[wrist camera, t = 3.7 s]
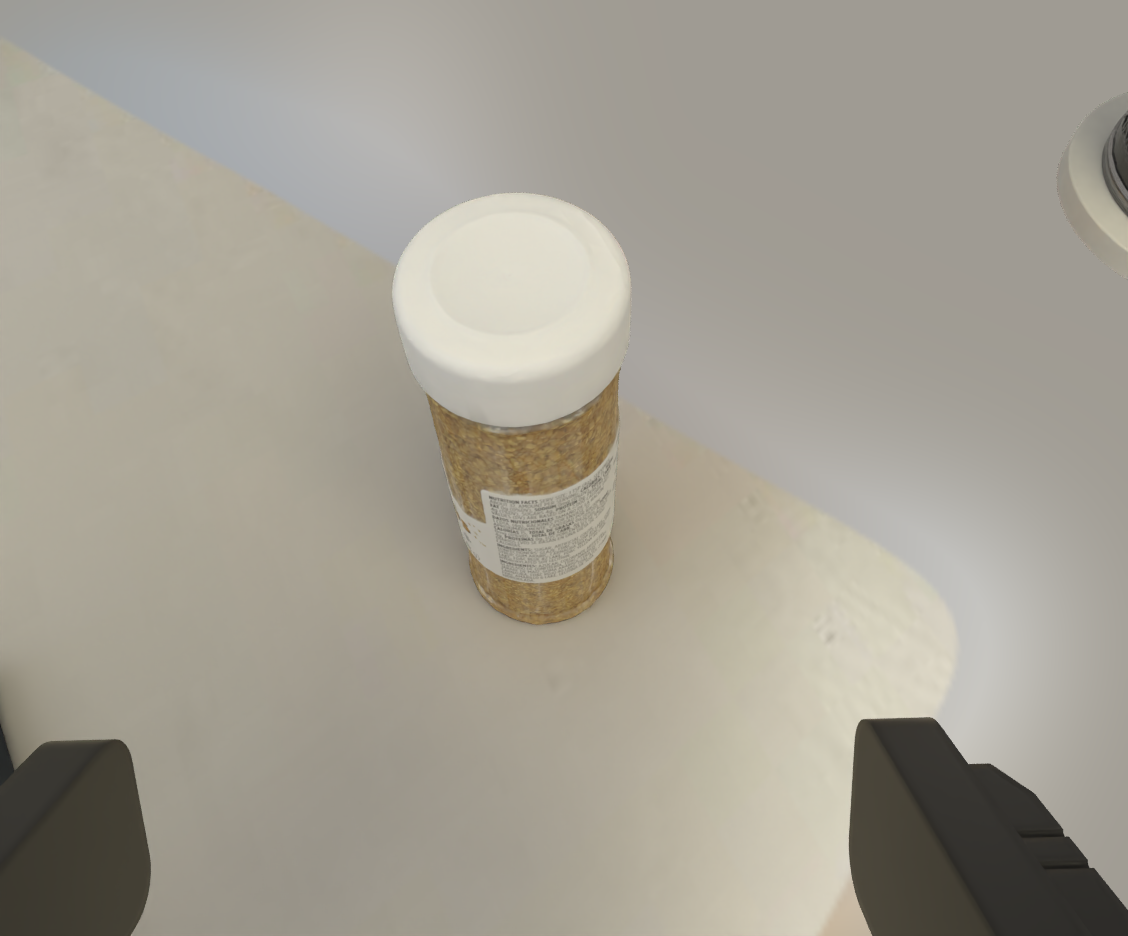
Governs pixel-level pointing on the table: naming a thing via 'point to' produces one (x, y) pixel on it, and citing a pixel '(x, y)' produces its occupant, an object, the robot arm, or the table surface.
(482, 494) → the sprinkles bottle
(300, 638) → the table surface
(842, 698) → the table surface
